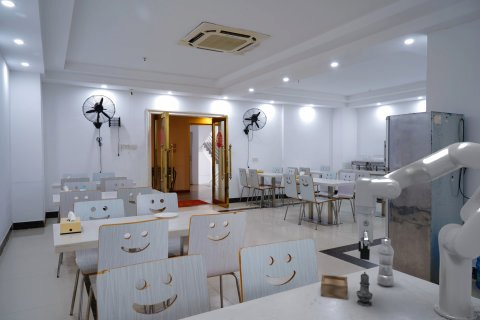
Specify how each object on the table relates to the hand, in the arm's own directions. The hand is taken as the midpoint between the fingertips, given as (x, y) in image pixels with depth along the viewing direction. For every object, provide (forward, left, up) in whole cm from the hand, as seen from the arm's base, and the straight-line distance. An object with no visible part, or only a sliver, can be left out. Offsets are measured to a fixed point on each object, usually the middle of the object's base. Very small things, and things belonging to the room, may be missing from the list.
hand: (363, 255), depth 123 cm
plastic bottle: (-11, -21, -18) cm, 30 cm away
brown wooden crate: (+10, -6, -18) cm, 22 cm away
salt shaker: (-1, 0, -18) cm, 18 cm away
